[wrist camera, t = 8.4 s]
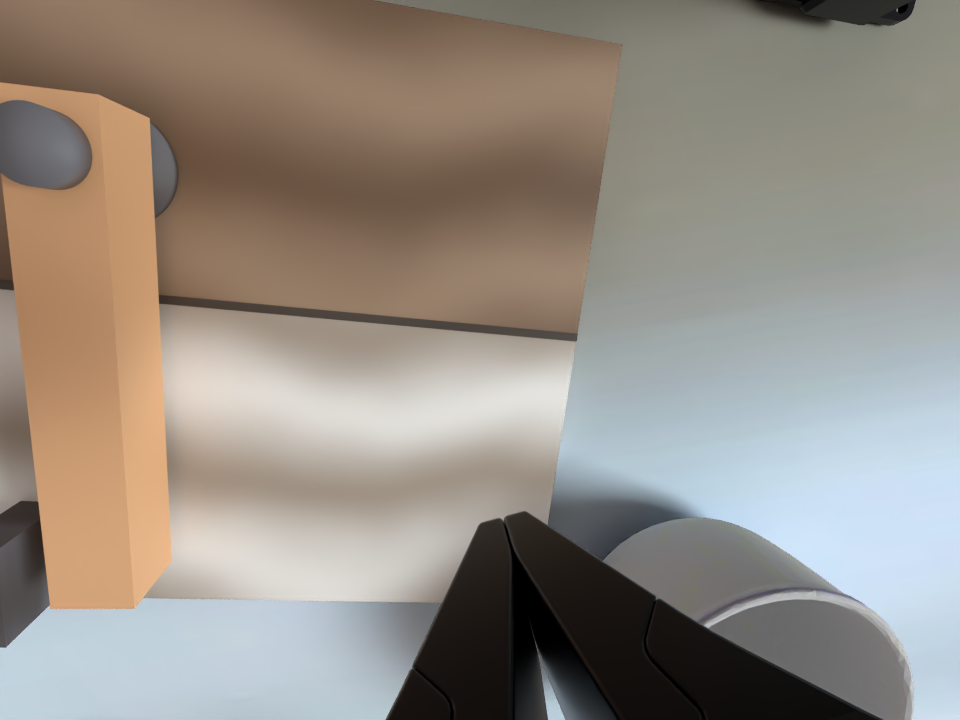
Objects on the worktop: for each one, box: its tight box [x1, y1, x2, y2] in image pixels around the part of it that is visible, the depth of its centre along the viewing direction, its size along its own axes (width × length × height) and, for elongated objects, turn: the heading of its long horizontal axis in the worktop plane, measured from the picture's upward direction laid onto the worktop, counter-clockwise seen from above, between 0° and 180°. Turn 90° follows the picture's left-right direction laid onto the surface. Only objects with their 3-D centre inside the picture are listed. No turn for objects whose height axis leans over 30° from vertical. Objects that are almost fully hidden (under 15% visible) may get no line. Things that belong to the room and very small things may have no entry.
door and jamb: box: [0, 0, 622, 647], centre depth 17 cm, size 22×23×4 cm
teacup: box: [603, 518, 914, 720], centre depth 20 cm, size 14×11×8 cm
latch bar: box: [0, 82, 172, 609], centre depth 15 cm, size 16×2×3 cm, turn 175°
